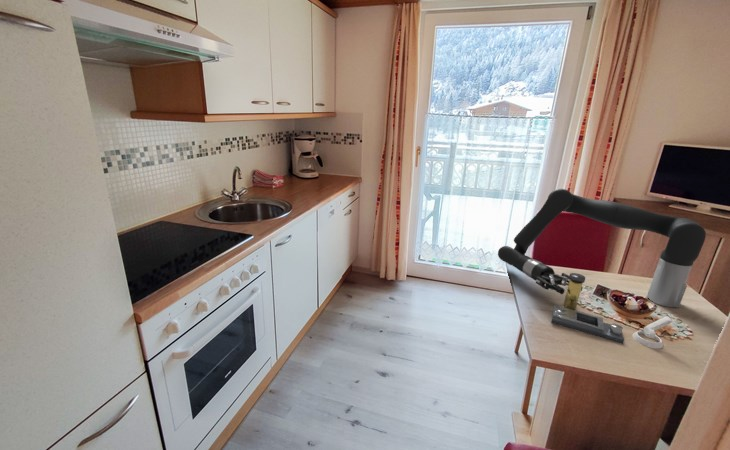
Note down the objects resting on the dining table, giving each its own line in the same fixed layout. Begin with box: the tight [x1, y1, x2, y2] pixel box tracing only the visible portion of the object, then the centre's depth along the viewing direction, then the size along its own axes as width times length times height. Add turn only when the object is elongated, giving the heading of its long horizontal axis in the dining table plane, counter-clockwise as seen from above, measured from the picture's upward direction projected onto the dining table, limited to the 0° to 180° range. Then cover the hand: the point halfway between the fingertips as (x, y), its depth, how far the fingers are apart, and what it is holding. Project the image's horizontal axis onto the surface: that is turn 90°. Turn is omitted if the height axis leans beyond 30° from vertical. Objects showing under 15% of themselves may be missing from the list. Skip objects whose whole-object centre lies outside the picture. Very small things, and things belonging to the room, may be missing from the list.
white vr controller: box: [632, 315, 673, 349], centre depth 104 cm, size 8×12×7 cm
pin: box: [562, 272, 586, 311], centre depth 119 cm, size 5×5×14 cm
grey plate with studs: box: [551, 304, 625, 345], centre depth 111 cm, size 20×8×3 cm, turn 58°
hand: (572, 290), depth 119 cm, fingers open, 8 cm apart
